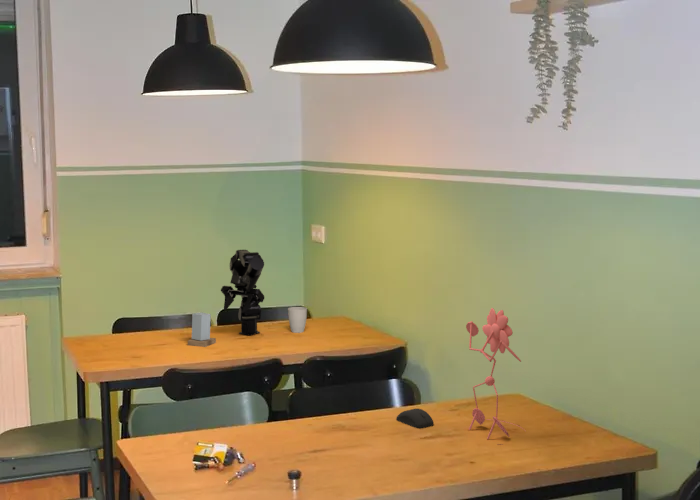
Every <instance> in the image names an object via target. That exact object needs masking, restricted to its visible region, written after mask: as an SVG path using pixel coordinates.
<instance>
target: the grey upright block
mask: <svg viewBox="0 0 700 500" xmlns="http://www.w3.org/2000/svg"><path fill="white" fill-rule="evenodd" d="M191 315H192V317H191V318H192V319H191V339H195V340H200V341H201V340H207V339H210V338H211V313H208V312H207V313H206V312H196V313H192V314H191Z"/></svg>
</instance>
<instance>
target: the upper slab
mask: <svg viewBox="0 0 700 500" xmlns="http://www.w3.org/2000/svg"><path fill="white" fill-rule="evenodd" d="M216 343H217V338H216V337H210V339H207V340H201V341H200V340H195V339H192V338H191V339H188V340H187V346H190V347H199V348H200V347H203V348H207V347H209V346H212V345H215V344H216Z"/></svg>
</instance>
